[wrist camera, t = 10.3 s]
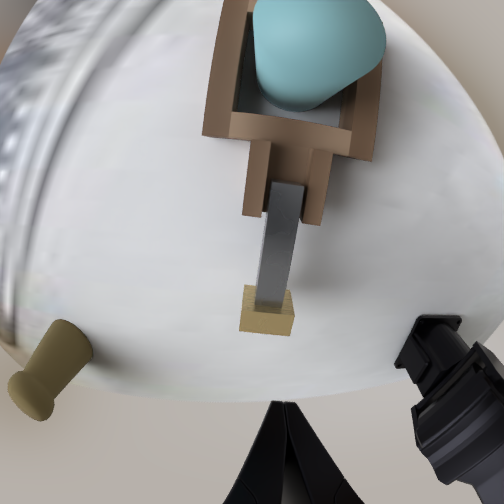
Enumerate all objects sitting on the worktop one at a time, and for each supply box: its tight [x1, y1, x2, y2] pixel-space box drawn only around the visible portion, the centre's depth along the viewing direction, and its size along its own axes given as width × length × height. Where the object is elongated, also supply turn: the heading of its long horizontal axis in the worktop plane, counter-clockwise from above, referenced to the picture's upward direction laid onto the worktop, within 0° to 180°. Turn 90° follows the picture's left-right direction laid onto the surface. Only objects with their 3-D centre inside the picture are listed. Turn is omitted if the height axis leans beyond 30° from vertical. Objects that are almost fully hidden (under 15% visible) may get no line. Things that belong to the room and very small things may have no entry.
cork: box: [8, 319, 93, 421], centre depth 19 cm, size 6×6×11 cm
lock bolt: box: [239, 178, 304, 336], centre depth 15 cm, size 3×8×3 cm, turn 173°
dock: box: [202, 0, 383, 226], centre depth 14 cm, size 10×14×4 cm
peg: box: [253, 0, 386, 112], centre depth 11 cm, size 5×5×9 cm
